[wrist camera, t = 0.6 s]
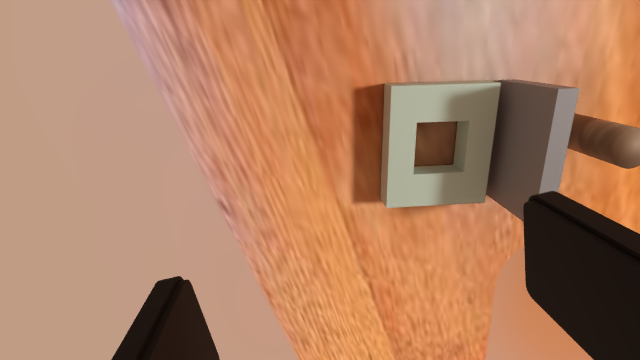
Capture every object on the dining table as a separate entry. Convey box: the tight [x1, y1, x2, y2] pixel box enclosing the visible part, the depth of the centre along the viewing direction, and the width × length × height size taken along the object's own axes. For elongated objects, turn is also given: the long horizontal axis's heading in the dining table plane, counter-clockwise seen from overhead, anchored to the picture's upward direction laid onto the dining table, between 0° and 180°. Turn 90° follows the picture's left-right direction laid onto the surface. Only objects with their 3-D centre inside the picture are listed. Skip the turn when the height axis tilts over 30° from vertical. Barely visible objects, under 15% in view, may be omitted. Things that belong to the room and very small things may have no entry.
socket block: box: [380, 81, 501, 208], centre depth 44 cm, size 14×12×3 cm
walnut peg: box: [567, 113, 640, 169], centre depth 41 cm, size 4×4×10 cm
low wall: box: [486, 80, 579, 222], centre depth 41 cm, size 14×2×10 cm, turn 1°
